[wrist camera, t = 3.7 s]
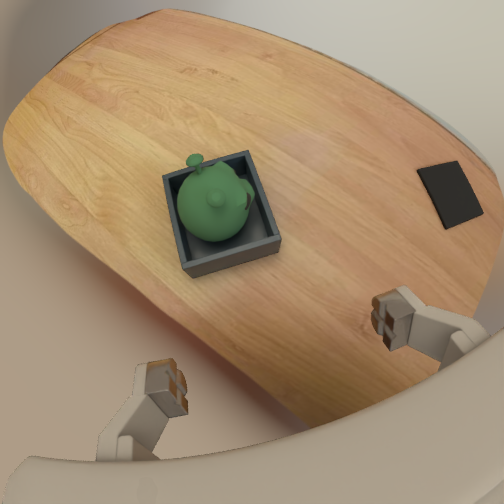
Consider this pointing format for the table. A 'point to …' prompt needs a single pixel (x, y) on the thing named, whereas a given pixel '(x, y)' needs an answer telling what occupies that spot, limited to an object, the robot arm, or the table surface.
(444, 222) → the mat
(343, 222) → the table surface
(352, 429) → the robot arm
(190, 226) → the alien toy
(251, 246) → the crate
